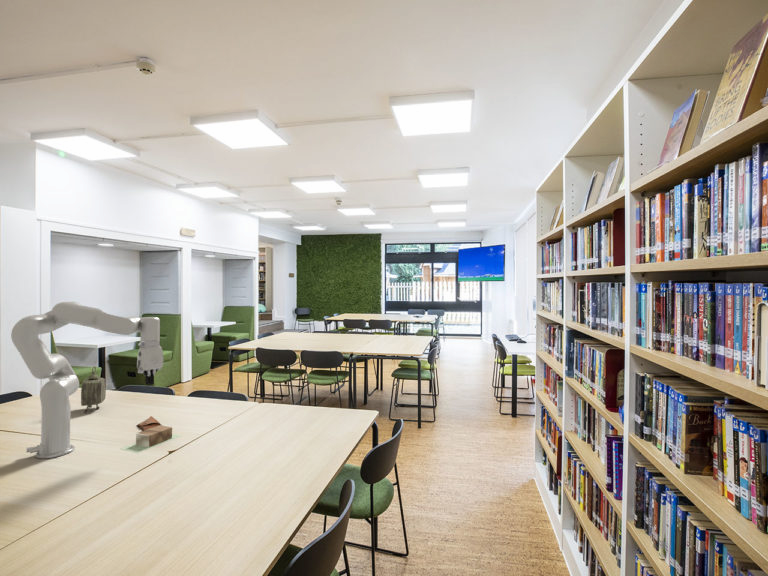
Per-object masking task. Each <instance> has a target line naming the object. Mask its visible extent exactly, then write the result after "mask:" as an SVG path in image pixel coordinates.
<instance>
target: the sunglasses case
mask: <svg viewBox="0 0 768 576" xmlns="http://www.w3.org/2000/svg"><path fill="white" fill-rule="evenodd" d="M159 425H162V424H161V423H160V422H159V421H158V420H157V419H156V418H154V416H151V415H150V416H149V417H148V418H147V419H145V420H143V421H141V422H140V423H138V424H137V425H136V427H138V428H139V429H140V430H141V431H144V430H147V429H150V428H153V427H156V426H159Z"/></svg>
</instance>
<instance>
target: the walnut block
mask: <svg viewBox="0 0 768 576" xmlns="http://www.w3.org/2000/svg"><path fill="white" fill-rule="evenodd" d="M172 434H173V427H171V426H166V425H163V424H161V425H159V426H156V427H153V428H150V429H147V430H144V431H143V430H141V431H139V432H136V433H135V443H136V445H141V446H145V447H150V446H153V445H155V444H158V443H161V442H163V441H166V440H168V439H171V438H172Z"/></svg>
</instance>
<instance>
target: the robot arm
mask: <svg viewBox="0 0 768 576" xmlns="http://www.w3.org/2000/svg"><path fill="white" fill-rule="evenodd" d="M69 324H71V325H77V326H78V325H79V326H82V327H87V328H88V327H89V328H93V329H95V330H99V331H103V332H107V333H111V334H116V335H124V336H128V335H132V334H136V333H140V340H139V341H140V342H139V343H137V344H138V346H139V348H138V351H137V358H136V359H137V360H136V368H137V373H138V374H142V375H143V376H144V377H145V379H144V381H145V385H148V386H152V385H154V384H155V383H154V382H155V376H156V374H157V372H158V371H160V370H162V368H163V366H164V354H163V347H162V346H161V345H160V342H161V341H160V337H161V336H160V335H161V334H160V333H161V331H160V330H161V325H160V324H161V319H160V318H159V317H157V316H146V317H142V316H141V317H140V316H127V317H124V316H119V315H114V314H110V313H107V312H104V311H103V310H102V309H100V308H96V307H94V306H93V307H91V306H86V305H82V304H80V303H78V302H76V301H62V302H59V303H56V304H55V305H54V306H53V307H52V309H51V310H50V311H47V312H45V313H42V314H34V315H33V314H32V315H29V316H25V317H22V318H21V319H19V320H17V322H16V323H15V324H14V326H13V327H12V329H11V333H10V337H11V338H10V339H11V341H12V344H13V345H14V348H15V349H16V350H17V351H18V353H19V355H20V356H21V358H22V359H23V361H24V363H25V365H26V367H27V368H28V370H29V372H30V374H31V376H33V377H34V378H35V379H38V380H45V379H48V380H49V381H47V382H45V383H44V384H43V386H42V387H41V388H40V390H39V399H40V406H41V426H40V427H41V429H40V430H41V431H40V432H41V434H40V443H39V444H38V445H36V446H30V447H28V446H27V447H26V453H29V454H33V453H35V457H36V458H37V459H53V458H57V457H61V456H62V457H63V456H65V455H68V454H70V453H72V452H73V451H74V450H75V446H74V445H73V444H71V414H72V413H71V402H70V398H69V397H70V396H71V395H73V394H74V393H76V392H77V391H78V389H79V388H80V380H79V377H78V376H77V374H76V372H75V370H74V369H73V367H72V366H71V364H70V363H69V360H68V359H67V358H66V357H65V356H63V355H62V354H59V353H51V352H50V350H49V349H48V348H47V345H46V344H45V343H44V342H43V341H42V339H40V337H39V335H45V334H49V333H51V332H54V331H56V330H59V329H61V328H63V327H65V326H67V325H69Z"/></svg>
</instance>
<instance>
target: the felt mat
mask: <svg viewBox="0 0 768 576" xmlns="http://www.w3.org/2000/svg"><path fill="white" fill-rule="evenodd" d="M179 437H180V438H181V435H179V434H175V433H172V438H171V439H168V440H166V441H163V442H161V443H158V444H155V445H153V446H150V447H145V446H141V445H136V442H135V443H132V444H129V445H127V446H124V447H121V448H120V450H123V451H128V452H131V453H136V454H139V453H142V452H144V451H147V450H150V449H152V448H154V447H156V446H159V445H162V444H164V443H167V442H169V441H172V440H175V439H178V438H179Z"/></svg>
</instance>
